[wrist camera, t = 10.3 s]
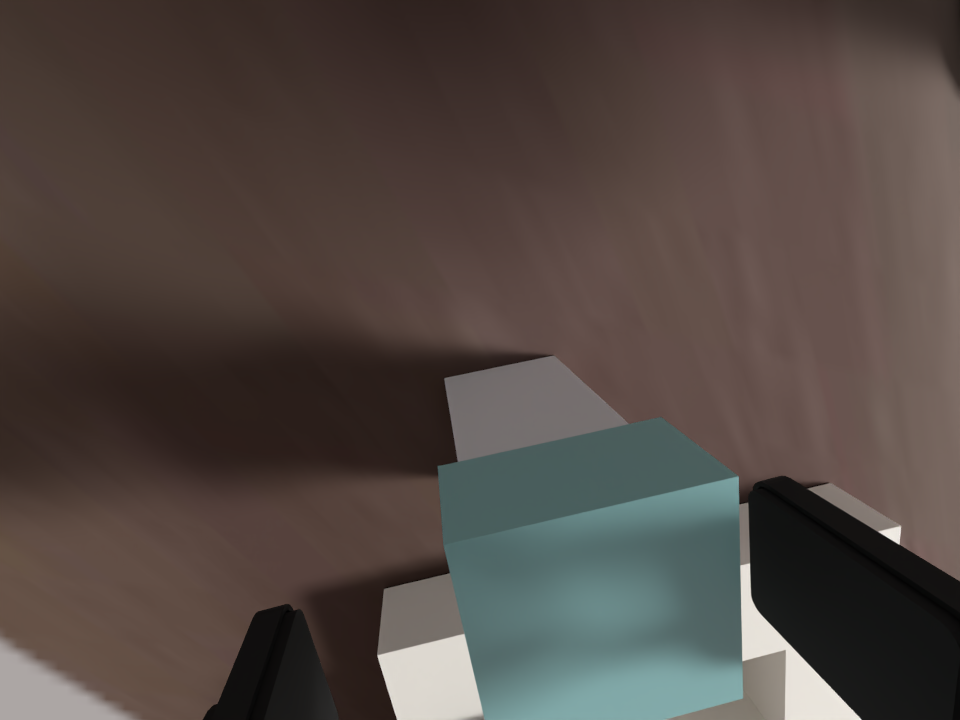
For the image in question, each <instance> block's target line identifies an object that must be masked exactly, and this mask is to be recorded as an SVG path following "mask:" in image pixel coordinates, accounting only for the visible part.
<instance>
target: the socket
mask: <svg viewBox="0 0 960 720" xmlns="http://www.w3.org/2000/svg"><path fill="white" fill-rule="evenodd" d="M807 489H809V490H810V491H812V492H814V493H815V494H817V495H819V496H820V497H822V498H823V499H825V500H827V501H828V502H830V503H832V504H833V505H835V506H837V507H838V508H840V509H842V510H843V511H845V512H846V513H848V514H850V515H851V516H853V517H855V518H856V519H858V520H860V521H861V522H863V523H864V524H866V525H868V526H869V527H871V528H873V529H874V530H876V531H878V532H879V533H881V534H883V535H884V536H886V537H887V538H889V539H891V540H892V541H894V542H896V543H897V544H899V543H900V532H901V526H900V525H899V524H897V523H895V522H894V521H892V520H891V519H889V518H887V517H886V516H884V515H882V514H881V513H879V512H877V511H876V510H874V509H873V508H871V507H869V506H868V505H866V504H864V503H863V502H861V501H859V500H858V499H856V498H855V497H853V496H851V495H850V494H848V493H846V492H845V491H843V490H841V489H840V488H838V487H836V486H835V485H833V484H832V483H828V484H824V485H820V486H816V487H812V488H807ZM739 522H740V570H741V619H742V667H743V699H740V700H736V701H732V702H728V703H725V704H721V705H717V706H714V707H710V708H706V709H702V710H699V711H695V712H691V713H688V714H684V715H680V716H676V717H673V718H669V719H665V720H861V718H860V717H859V716H858V715H857V714H856V713H855V712H854V711H853V710H852V709H851V708H850V707H849V706H848V705H847V704H846V703H845V702H844V701H843V700H842V699H841V698H840V697H839V696H838V694H837V693H836V692H835V691H834V690H833V689H832V688H831V687H830V686H829V685H828V684H827V683H826V682H825V681H824V680H823V679H822V678H821V677H820V676H819V675H818V674H817V673H816V672H815V670H814V669H813V668H812V667H811V666H810V665H809V664H808V663H807V662H806V661H805V660H804V659H803V658H802V657H801V656H800V655H799V654H798V653H797V652H796V651H795V650H794V649H793V648H792V646H791V645H790V644H789V643H788V642H787V641H786V640H785V639H784V638H783V637H782V636H781V635H780V634H779V633H778V632H777V631H776V630H775V629H774V628H773V627H772V626H771V625H770V624H769V622H768V621H767V620H766V619H765V618H764V617H763V616H762V615H761V614H760V613H759V612H758V610H757V609H756V607H755V605H754V603H753V601H752V597H751V582H750V546H749V509H748V503H744V504H740V505H739ZM377 656H378V660H379V663H380V666H381V669H382V673H383V676H384V679H385V682H386V686H387V689H388V692H389V695H390V699H391V702H392V705H393V708H394V712H395V715H396V718H397V720H485V719H484V715H483V711H482V706H481V702H480V698H479V694H478V689H477V685H476V681H475V677H474V672H473V668H472V664H471V660H470V655H469V651H468V647H467V643H466V638H465V634H464V630H463V626H462V621H461V617H460V613H459V609H458V604H457V600H456V596H455V592H454V587H453V583H452V579H451V575H450V573H449V574H445V575H441V576H436V577H432V578H428V579H424V580H420V581H415V582H411V583H407V584H403V585H398V586H394V587H390V588H386V589H384V594H383V604H382V613H381V623H380V633H379V643H378V652H377Z"/></svg>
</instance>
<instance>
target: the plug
mask: <svg viewBox="0 0 960 720" xmlns="http://www.w3.org/2000/svg"><path fill="white" fill-rule="evenodd" d="M444 380H445V387H446V393H447V399H448V405H449V411H450V417H451V423H452V430H453V436H454V442H455V448H456V454H457V460H458V462H455V463H451V464H446V465H442V466H438V477H439V490H440V504H441V518H442V531H443V545H444V549H445V553H446V558H447V562H448V566H449V570H450V575H451V579H452V583H453V587H454V592H455V596H456V600H457V604H458V609H459V613H460V617H461V621H462V626H463V630H464V634H465V638H466V643H467V647H468V651H469V655H470V660H471V664H472V668H473V672H474V677H475V681H476V685H477V689H478V694H479V698H480V702H481V706H482V711H483V715H484V719H485V720H665V719H669V718H673V717H676V716H680V715H684V714H688V713H691V712H695V711H699V710H702V709H706V708H710V707H714V706H717V705H721V704H725V703H728V702H732V701H736V700H740V699H743V667H742V619H741V570H740V522H739V476H737V475H736V474H735V473H734V472H732V471H731V470H730V469H728V468H727V467H726V466H724V465H723V464H722V463H720V462H719V461H718V460H717V459H715V458H714V457H713V456H711V455H710V454H709V453H707V452H706V451H705V450H703V449H702V448H701V447H700V446H698V445H697V444H696V443H694V442H693V441H692V440H690V439H689V438H688V437H686V436H685V435H684V434H683V433H681V432H680V431H679V430H677V429H676V428H675V427H673V426H672V425H671V424H669V423H668V422H667V421H665V420H664V419H663V418H662V417H659V418H655V419H650V420H646V421H641V422H636V423H632V424H628V423H627V422H626V421H625V420H624V419H623V418H622V417H621V416H620V415H619V414H618V413H616V412H615V411H614V410H613V409H612V408H611V407H610V406H609V405H608V404H607V403H606V402H604V401H603V400H602V399H601V398H600V397H599V396H598V395H597V394H596V393H595V392H594V391H592V390H591V389H590V388H589V387H588V386H587V385H586V384H585V383H584V382H583V381H582V380H580V379H579V378H578V377H577V376H576V375H575V374H574V373H573V372H572V371H571V370H569V369H568V368H567V367H566V366H565V365H564V364H563V363H562V362H561V361H560V360H559V359H557V358H556V357H555V356H549V357H544V358H539V359H534V360H529V361H525V362H520V363H515V364H510V365H505V366H500V367H496V368H491V369H486V370H481V371H476V372H472V373H467V374H462V375H457V376H452V377H447V378H444Z"/></svg>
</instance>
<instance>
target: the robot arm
mask: <svg viewBox="0 0 960 720" xmlns="http://www.w3.org/2000/svg"><path fill="white" fill-rule="evenodd" d="M748 509H749V546H750V582H751V597H752V601H753V603H754V605H755V607H756V609H757V610H758V612H759V613H760V614H761V615H762V616H763V617H764V618H765V619H766V620H767V621H768V622H769V624H770V625H771V626H772V627H773V628H774V629H775V630H776V631H777V632H778V633H779V634H780V635H781V636H782V637H783V638H784V639H785V640H786V641H787V642H788V643H789V644H790V645H791V646H792V648H793V649H794V650H795V651H796V652H797V653H798V654H799V655H800V656H801V657H802V658H803V659H804V660H805V661H806V662H807V663H808V664H809V665H810V666H811V667H812V668H813V669H814V670H815V672H816V673H817V674H818V675H819V676H820V677H821V678H822V679H823V680H824V681H825V682H826V683H827V684H828V685H829V686H830V687H831V688H832V689H833V690H834V691H835V692H836V693H837V694H838V696H839V697H840V698H841V699H842V700H843V701H844V702H845V703H846V704H847V705H848V706H849V707H850V708H851V709H852V710H853V711H854V712H855V713H856V714H857V715H858V716H859V717H860V718H861V720H960V581H958V580H956V579H955V578H953V577H952V576H950V575H948V574H947V573H945V572H943V571H942V570H940V569H938V568H937V567H935V566H933V565H932V564H930V563H929V562H927V561H925V560H924V559H922V558H920V557H919V556H917V555H915V554H914V553H912V552H910V551H909V550H907V549H906V548H904V547H902V546H901V545H899V544H897V543H896V542H894V541H892V540H891V539H889V538H887V537H886V536H884V535H883V534H881V533H879V532H878V531H876V530H874V529H873V528H871V527H869V526H868V525H866V524H864V523H863V522H861V521H860V520H858V519H856V518H855V517H853V516H851V515H850V514H848V513H846V512H845V511H843V510H842V509H840V508H838V507H837V506H835V505H833V504H832V503H830V502H828V501H827V500H825V499H823V498H822V497H820V496H819V495H817V494H815V493H814V492H812V491H810V490H809V489H807V488H805V487H804V486H802V485H800V484H799V483H797V482H796V481H794V480H792V479H791V478H788V477H786V476H779V477H775V478H771V479H767V480H764V481H760V482H757V483H755V485H754V487H753V491H751V492H750V493H749V496H748ZM203 720H339V718H338V713H337V710H336V707H335V704H334V701H333V698H332V695H331V692H330V689H329V686H328V684H327V681H326V678H325V675H324V672H323V669H322V666H321V663H320V660H319V657H318V655H317V652H316V649H315V646H314V643H313V640H312V637H311V634H310V631H309V628H308V625H307V623H306V620H305V617H304V614H303V612H302V611H301V610H300V609H298V610H295V611H293V608H292V607H291V606H290V605H289V604H285V605H281V606H277V607H274V608H270V609H266V610H262V611H258V612H257V613H256V614H255V615H254V617H253V619H252V622H251V624H250V626H249V629H248V631H247V634H246V636H245V639H244V641H243V644H242V646H241V648H240V651H239V653H238V656H237V658H236V661H235V663H234V665H233V668H232V670H231V673H230V675H229V678H228V680H227V683H226V685H225V687H224V690H223V692H222V695H221V697H220V700H219V702H218V704H216V705H213V706H212V707H211V708H210V709H209V710H208V711H207V713H206V715H205V717H204V719H203Z"/></svg>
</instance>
